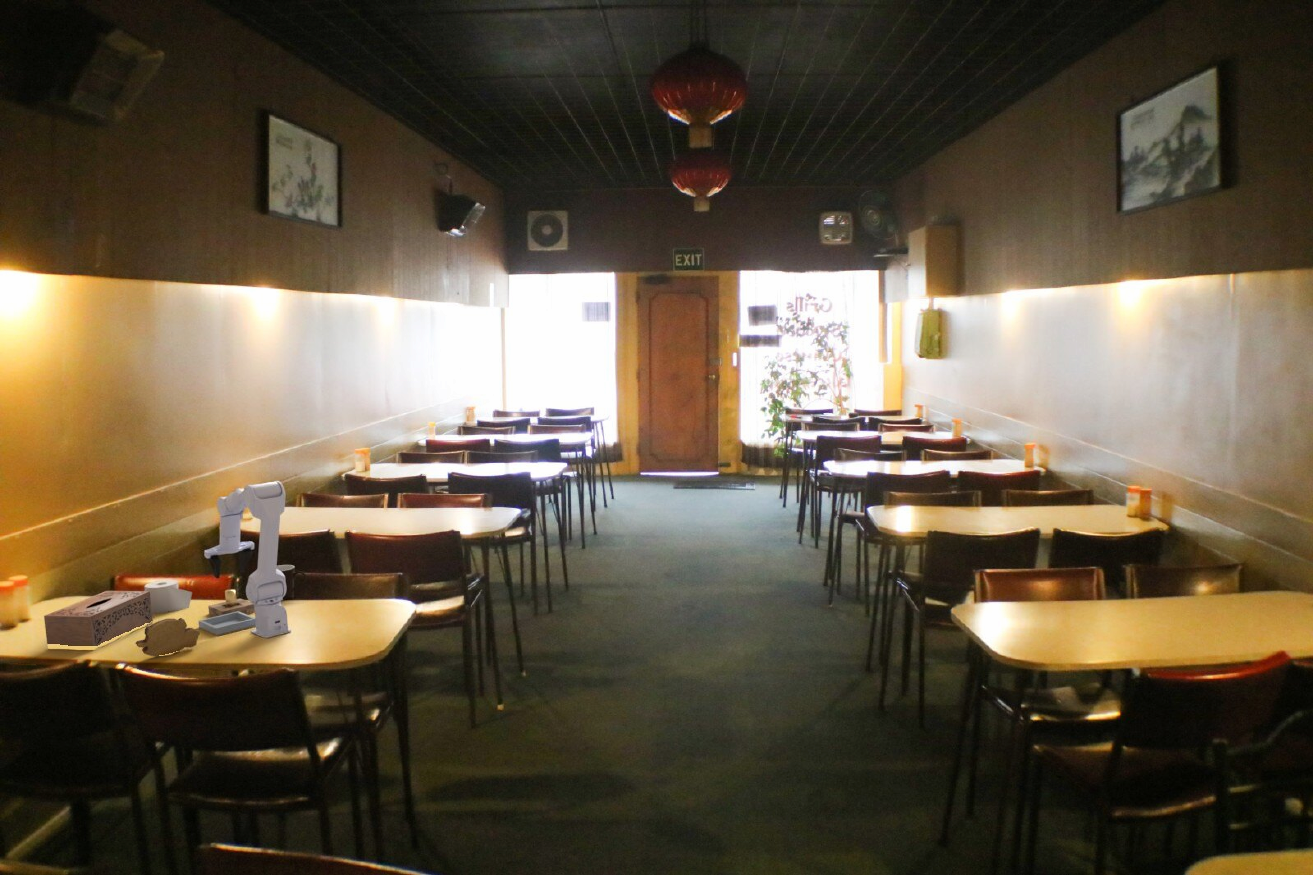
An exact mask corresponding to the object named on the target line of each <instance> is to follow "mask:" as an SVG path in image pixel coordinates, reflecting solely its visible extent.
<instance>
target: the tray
mask: <svg viewBox="0 0 1313 875" xmlns="http://www.w3.org/2000/svg"><path fill="white" fill-rule="evenodd" d="M252 627H256V622H255V616H252V615H249V614H244V613H242V612H239V611H237V612H233V613H229V614H225V615H220V616H216V617H215V616H213V617H208V618H204V619H200V620H198V628H199V629H201V630H203V631H205V632H208V633H210V634H213V635H214V636H219V637H221V636H225V635H230V634H229V633H231V634H233V632H235V633H237V632H241V631H246V630H250V629H249V628H252Z"/></svg>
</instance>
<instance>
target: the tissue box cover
mask: <svg viewBox="0 0 1313 875" xmlns="http://www.w3.org/2000/svg"><path fill="white" fill-rule="evenodd" d="M43 619H44V629H45V637H46V645H47V644H60V645H68V646H98V645H100V644H101V643H103V642H105V641H109V640H111V639H112V638H114V637H116V636H119V635H121V634H123V633H125V632H129V631H131V630H132V629H134V628H136V627H140V626H142V625H144V624H145V623H150V622H151V621H152V622H153V621H154V619H153V614H152V608H151V597H150V591H145V590H105V591H103V592H101V593H97V594H95V595H93V596H91V597H88V598H85V599H83V600H80V601H77V602H76V603H73V604H71V605H68V606H66V607H62V608H61V609H58V610H55V611H53V612H51V613H47V614H45V615H44V616H43Z"/></svg>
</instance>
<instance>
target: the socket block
mask: <svg viewBox="0 0 1313 875" xmlns="http://www.w3.org/2000/svg"><path fill="white" fill-rule="evenodd" d="M236 602H237V606H233V607H229V608H226V601H224V602H219V603H215V604H210V605H207V606H208V614H209V615H211V616H213V617H216V616H220V615H225V614H229V613H233V612H237V611H239V612H242V613H244V614H247V615H249V614H253V613H254V614H255V610H254V604H252V603H251V602H250V601H249V600H248V601H247V600H245V599H243V598H236Z"/></svg>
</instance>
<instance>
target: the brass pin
mask: <svg viewBox="0 0 1313 875" xmlns="http://www.w3.org/2000/svg"><path fill="white" fill-rule="evenodd" d="M236 592H237V591H236V589H235V588H234V589H233V588H231V589H226V590H225V591H224V595H225V596H224V597H225V602H226V608H229V607H233V606H237V602H236V599H237V593H236Z"/></svg>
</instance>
